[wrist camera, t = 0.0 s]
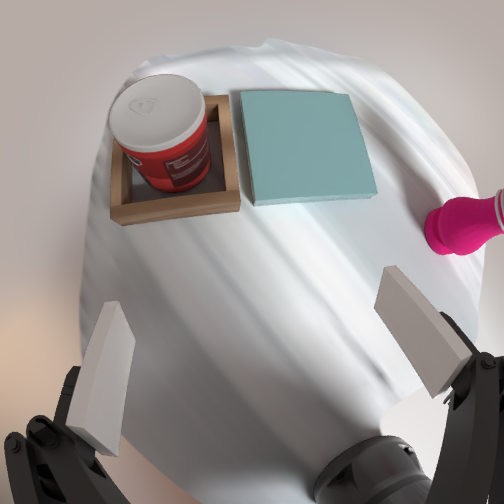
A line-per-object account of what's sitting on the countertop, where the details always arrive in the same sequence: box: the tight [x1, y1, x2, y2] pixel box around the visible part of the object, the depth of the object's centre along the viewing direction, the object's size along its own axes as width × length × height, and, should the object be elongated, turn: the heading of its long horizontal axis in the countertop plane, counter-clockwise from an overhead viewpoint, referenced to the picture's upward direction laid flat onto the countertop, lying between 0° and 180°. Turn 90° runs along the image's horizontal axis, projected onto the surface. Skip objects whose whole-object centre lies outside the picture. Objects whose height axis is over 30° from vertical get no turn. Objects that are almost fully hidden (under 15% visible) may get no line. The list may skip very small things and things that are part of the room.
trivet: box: [240, 91, 378, 206], centre depth 30 cm, size 14×14×2 cm
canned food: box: [109, 74, 211, 193], centre depth 24 cm, size 8×8×11 cm
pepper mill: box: [425, 189, 504, 255], centre depth 21 cm, size 7×7×20 cm
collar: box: [110, 95, 241, 226], centre depth 27 cm, size 13×13×4 cm
